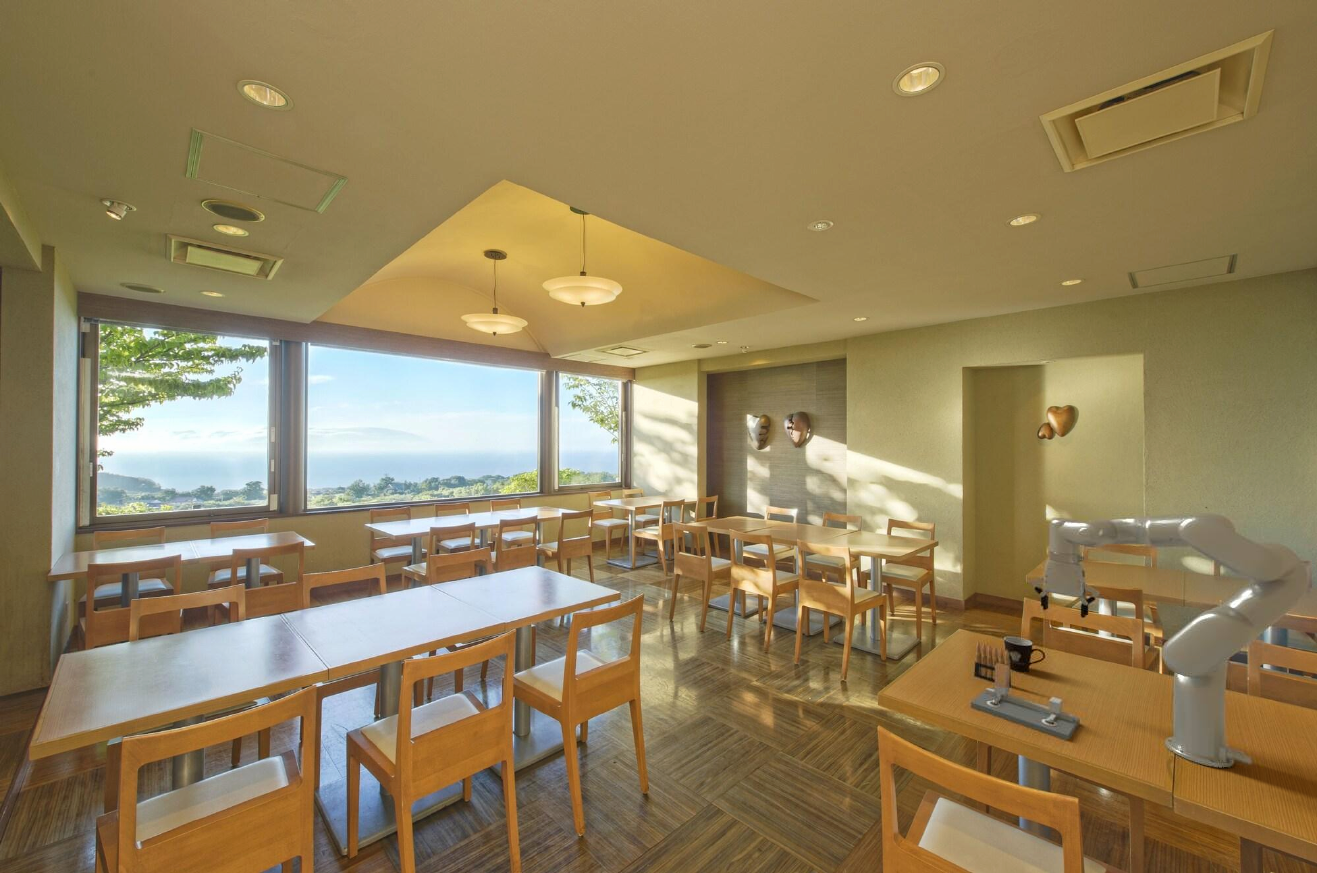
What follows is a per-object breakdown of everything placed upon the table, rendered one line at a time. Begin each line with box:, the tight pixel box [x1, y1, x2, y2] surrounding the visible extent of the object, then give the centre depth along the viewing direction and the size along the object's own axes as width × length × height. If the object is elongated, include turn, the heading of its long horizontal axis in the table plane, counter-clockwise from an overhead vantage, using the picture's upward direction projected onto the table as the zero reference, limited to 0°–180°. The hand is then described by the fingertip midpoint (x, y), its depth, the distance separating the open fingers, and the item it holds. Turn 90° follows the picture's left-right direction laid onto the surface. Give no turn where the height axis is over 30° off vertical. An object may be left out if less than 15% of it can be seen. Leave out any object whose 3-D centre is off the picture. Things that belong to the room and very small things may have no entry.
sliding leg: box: [992, 663, 1010, 705], centre depth 165 cm, size 3×9×10 cm, turn 131°
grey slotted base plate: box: [970, 687, 1081, 742], centre depth 159 cm, size 24×14×6 cm, turn 41°
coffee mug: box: [1003, 636, 1046, 674], centre depth 191 cm, size 12×9×10 cm
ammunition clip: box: [974, 641, 1012, 688], centre depth 182 cm, size 11×2×12 cm, turn 40°
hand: (1064, 612), depth 167 cm, fingers open, 9 cm apart
